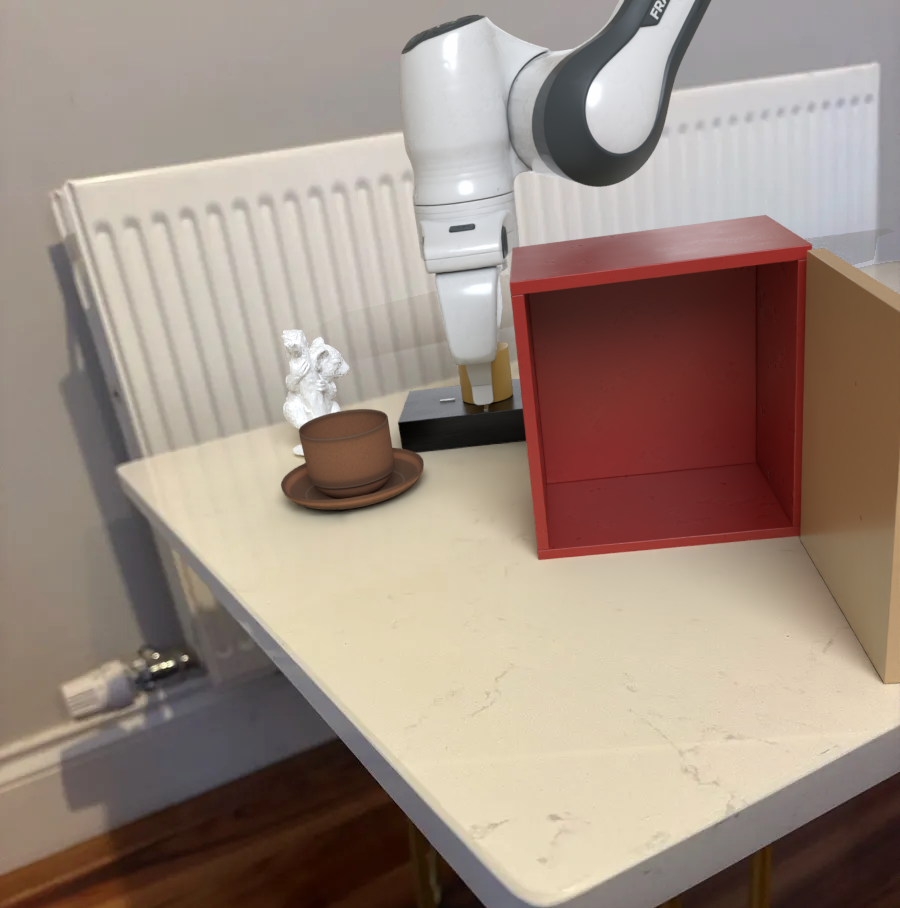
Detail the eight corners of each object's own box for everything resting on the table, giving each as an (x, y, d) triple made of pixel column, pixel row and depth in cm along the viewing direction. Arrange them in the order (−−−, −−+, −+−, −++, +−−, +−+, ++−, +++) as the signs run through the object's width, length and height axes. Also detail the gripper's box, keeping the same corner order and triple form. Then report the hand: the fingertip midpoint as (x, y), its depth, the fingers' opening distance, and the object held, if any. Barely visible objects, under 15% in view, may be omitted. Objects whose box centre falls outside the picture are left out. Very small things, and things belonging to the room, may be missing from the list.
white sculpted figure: (340, 467, 93) (315, 334, 88) (273, 469, 95) (244, 340, 89) (371, 435, 100) (349, 311, 95) (308, 438, 102) (283, 317, 97)
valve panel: (538, 406, 101) (535, 374, 100) (539, 439, 92) (536, 405, 91) (413, 420, 103) (408, 389, 101) (402, 453, 94) (397, 420, 92)
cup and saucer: (257, 506, 87) (240, 436, 84) (363, 459, 94) (351, 394, 91) (347, 533, 79) (332, 457, 76) (456, 480, 86) (446, 409, 83)
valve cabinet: (805, 536, 68) (812, 244, 59) (538, 561, 70) (509, 282, 61) (764, 467, 79) (766, 214, 71) (537, 490, 81) (512, 247, 73)
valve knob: (463, 391, 98) (457, 341, 96) (513, 386, 98) (508, 335, 96) (461, 406, 94) (454, 354, 92) (513, 400, 94) (507, 348, 91)
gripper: (441, 220, 99) (460, 362, 105) (420, 256, 81) (444, 424, 87) (507, 212, 98) (521, 355, 104) (500, 246, 80) (518, 416, 86)
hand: (486, 387), depth 96 cm, fingers open, 8 cm apart
